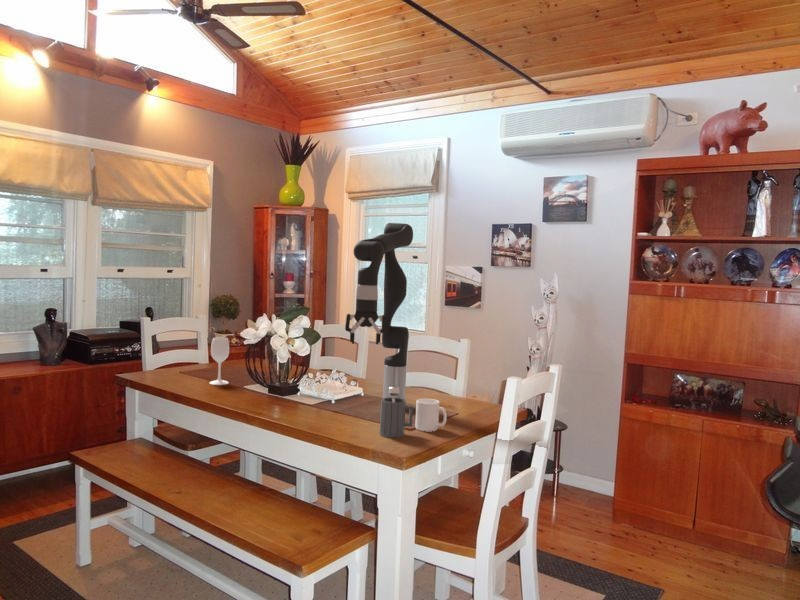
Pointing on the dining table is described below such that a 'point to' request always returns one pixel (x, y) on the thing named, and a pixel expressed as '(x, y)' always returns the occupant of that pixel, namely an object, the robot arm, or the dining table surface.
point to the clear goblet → (393, 392)
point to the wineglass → (219, 356)
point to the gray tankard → (394, 417)
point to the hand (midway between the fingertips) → (364, 343)
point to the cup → (428, 415)
